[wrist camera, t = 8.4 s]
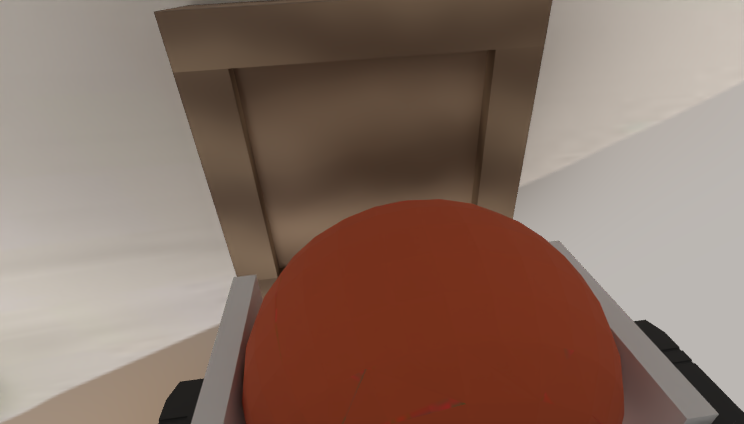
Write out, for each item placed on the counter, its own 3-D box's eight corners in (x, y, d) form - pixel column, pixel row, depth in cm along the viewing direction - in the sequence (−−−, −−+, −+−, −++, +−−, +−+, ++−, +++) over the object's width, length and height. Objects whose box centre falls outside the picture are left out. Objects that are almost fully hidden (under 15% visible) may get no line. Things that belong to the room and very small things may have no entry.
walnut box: (188, 5, 20) (153, 11, 16) (508, -14, 22) (554, -12, 17) (257, 263, 30) (247, 309, 26) (477, 238, 31) (501, 279, 27)
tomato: (568, 241, 16) (863, 553, 7) (402, 374, 19) (467, 691, 10) (386, 80, 11) (579, 375, 3) (214, 289, 15) (70, 705, 6)
